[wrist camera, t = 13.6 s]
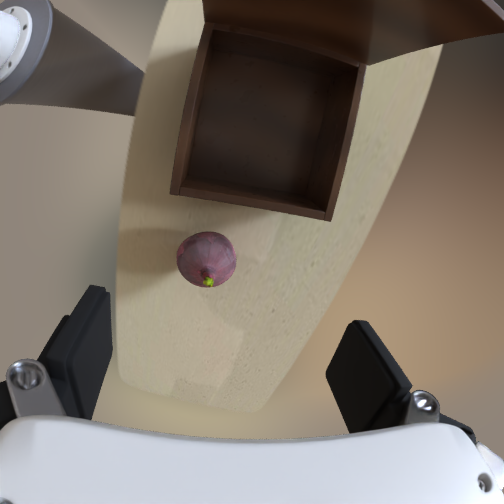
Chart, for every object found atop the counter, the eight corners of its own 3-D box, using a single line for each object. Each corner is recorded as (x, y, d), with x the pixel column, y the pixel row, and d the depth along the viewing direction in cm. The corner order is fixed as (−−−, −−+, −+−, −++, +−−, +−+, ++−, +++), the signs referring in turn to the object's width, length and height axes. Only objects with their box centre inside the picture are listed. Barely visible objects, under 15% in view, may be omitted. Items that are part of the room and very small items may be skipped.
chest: (307, 202, 34) (331, 222, 27) (180, 180, 32) (169, 194, 24) (336, 75, 29) (367, 63, 21) (207, 44, 26) (205, 20, 19)
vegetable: (243, 254, 36) (253, 298, 27) (199, 278, 36) (194, 327, 27) (217, 211, 33) (218, 243, 24) (171, 237, 34) (156, 277, 25)
